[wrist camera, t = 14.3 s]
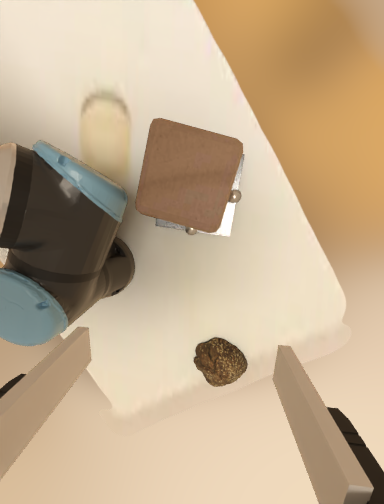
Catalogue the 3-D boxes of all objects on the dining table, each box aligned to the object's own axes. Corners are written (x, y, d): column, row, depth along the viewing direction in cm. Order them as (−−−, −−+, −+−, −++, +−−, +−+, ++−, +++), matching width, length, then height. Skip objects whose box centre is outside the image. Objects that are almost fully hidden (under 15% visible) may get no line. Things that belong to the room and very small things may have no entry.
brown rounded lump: (252, 364, 50) (257, 381, 45) (213, 385, 52) (214, 404, 47) (223, 327, 48) (224, 341, 43) (184, 351, 50) (181, 367, 46)
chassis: (155, 226, 43) (149, 228, 39) (162, 144, 39) (156, 136, 35) (230, 237, 42) (232, 241, 38) (245, 154, 38) (250, 147, 34)
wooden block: (179, 159, 38) (149, 111, 19) (228, 173, 38) (248, 138, 19) (167, 209, 41) (130, 211, 21) (213, 222, 41) (217, 236, 21)
